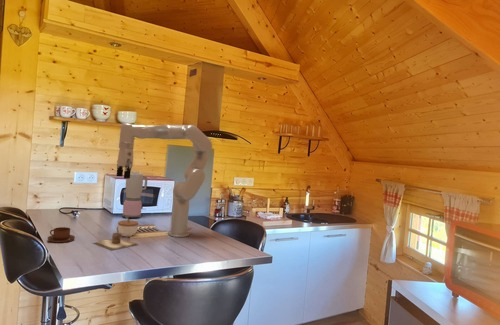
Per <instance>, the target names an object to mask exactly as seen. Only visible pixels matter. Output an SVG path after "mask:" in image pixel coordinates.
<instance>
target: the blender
mask: <svg viewBox="0 0 500 325" xmlns="http://www.w3.org/2000/svg"><path fill="white" fill-rule="evenodd" d="M143 186H144V187H143ZM147 188H148V178H147V176H145V175H144V174H143V173H140V171H132V170H131V173H130V179H125V200H124V201H123V205H122V206H123V207H122V216H121V217H122V218H125V220H128V219H130V218H138V219H141V217H142V210H143V207H144V206H143V205H142V204H143V203H142V200H141V196H142V192H143V191H146V190H147Z"/></svg>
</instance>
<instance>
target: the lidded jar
mask: <svg viewBox="0 0 500 325" xmlns="http://www.w3.org/2000/svg"><path fill="white" fill-rule="evenodd" d="M138 227H139V222H138V221H136V220H133V219H131V220H130V218H129V219H125V220H120V221H119V220H118V222H117V229H118V230H117V231H118V233H121V237H127V238H128V237H130V238H131V237H133V236H135V235H136V233H137V232H138ZM132 235H133V236H132Z"/></svg>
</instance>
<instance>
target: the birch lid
mask: <svg viewBox="0 0 500 325" xmlns="http://www.w3.org/2000/svg"><path fill="white" fill-rule="evenodd" d="M111 236H112V238H110V239H109V238H108V239H105V240H99V241H98V240H97V241H95V242H94V243H95V244H98V245H101V246H103V247H106V248H108V249H111V250H114V249H118V250H120V249H119V248H123V249H125V248H124V247H128V248H130V247H129V246H132V247H134V246H133V245H136V244H137V242H135V241H130V240H129V239H125V238H122V235H121V233H119V232H113V233H112V235H111ZM95 244H94V245H95ZM103 247H102V248H103ZM108 249H107V250H108ZM111 250H110V251H111ZM114 251H115V250H114Z"/></svg>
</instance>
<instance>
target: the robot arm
mask: <svg viewBox="0 0 500 325" xmlns="http://www.w3.org/2000/svg"><path fill="white" fill-rule="evenodd" d="M135 138H137V139H141V140H143V139H156V140H157V139H159V140H189V141H190V142H192V148H193V151H194V156H193V159H192V160H191V162H190V163H189V165H188V166H187V167H186V170H185V172H184V174H183V176H184V177H183V178H184V179H185V181H178V182H177V183H176V184H175V185H174V186H173V188H172V198H173V199H172V203H173V204H172V213H171V223H170V226H171V227H170V230H169V231H168V232H167V235H168V236H170V237H175V238H185V237H189V236H190V232H189V231H191V230H193V226H188V223H189V222H188V220H189V210H190V201H191V200H192V199H194V198H195V196H196V195H197V193H198V191H199V190H200V188H201V187H202V186H203V183H204V181H205V179H206V173H205V171H204V169H205V168H206V166H207V164H208V160H209V152H210V151H211V150H212V148H213V142H212V141H211V139H210V138H209V137H208V136H207V135H206V134H205V133H204V132H202V131H201V129H199V128H198V127H197V126H196V125H194V124H161V125H145V124H133V123H127V122H123V123H121V125H120V132H119V142H118V154H117V161H116V163H117V164H116V165H117V166H116V177H123V178H124V179H125V180H126V179H130V173H131V172H132V168H133V165H134V164H133V163H134V148H135V146H134V145H135Z"/></svg>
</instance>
